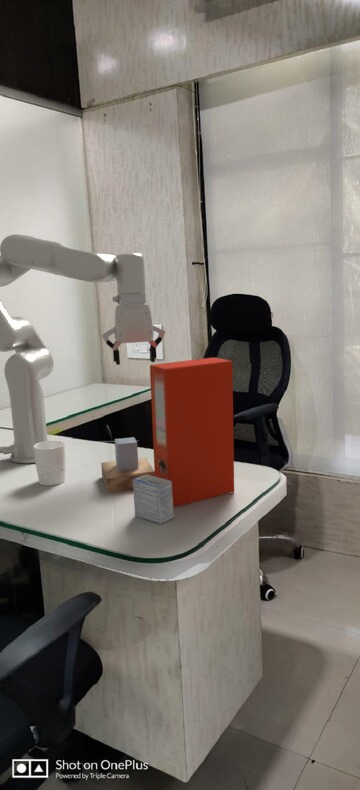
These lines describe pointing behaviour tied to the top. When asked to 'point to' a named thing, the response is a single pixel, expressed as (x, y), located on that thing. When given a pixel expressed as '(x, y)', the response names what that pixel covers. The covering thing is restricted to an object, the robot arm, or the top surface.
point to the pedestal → (124, 475)
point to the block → (126, 454)
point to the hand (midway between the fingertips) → (135, 362)
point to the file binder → (193, 427)
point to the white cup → (50, 462)
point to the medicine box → (153, 498)
